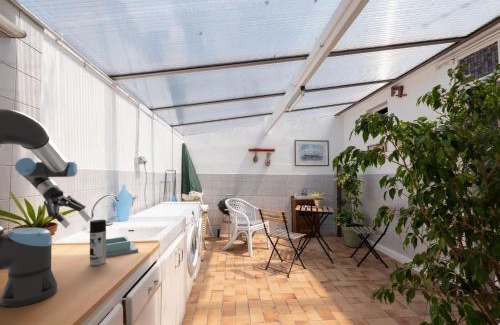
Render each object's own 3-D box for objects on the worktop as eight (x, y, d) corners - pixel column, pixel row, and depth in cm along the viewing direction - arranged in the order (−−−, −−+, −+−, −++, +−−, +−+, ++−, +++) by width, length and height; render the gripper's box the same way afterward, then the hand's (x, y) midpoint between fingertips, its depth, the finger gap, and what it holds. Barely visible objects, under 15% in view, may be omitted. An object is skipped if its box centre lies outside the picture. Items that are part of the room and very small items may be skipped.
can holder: (94, 259, 129) (94, 248, 130) (92, 249, 146) (92, 239, 146) (138, 251, 141) (138, 241, 141) (131, 243, 157) (131, 234, 157)
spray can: (86, 264, 123) (86, 221, 123) (100, 260, 129) (100, 218, 129) (95, 266, 120) (95, 222, 120) (109, 262, 126) (109, 219, 126)
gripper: (66, 194, 141) (92, 222, 139) (20, 199, 116) (51, 234, 114) (75, 184, 140) (101, 212, 138) (31, 187, 116) (63, 222, 114)
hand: (79, 222), depth 126 cm, fingers open, 13 cm apart
